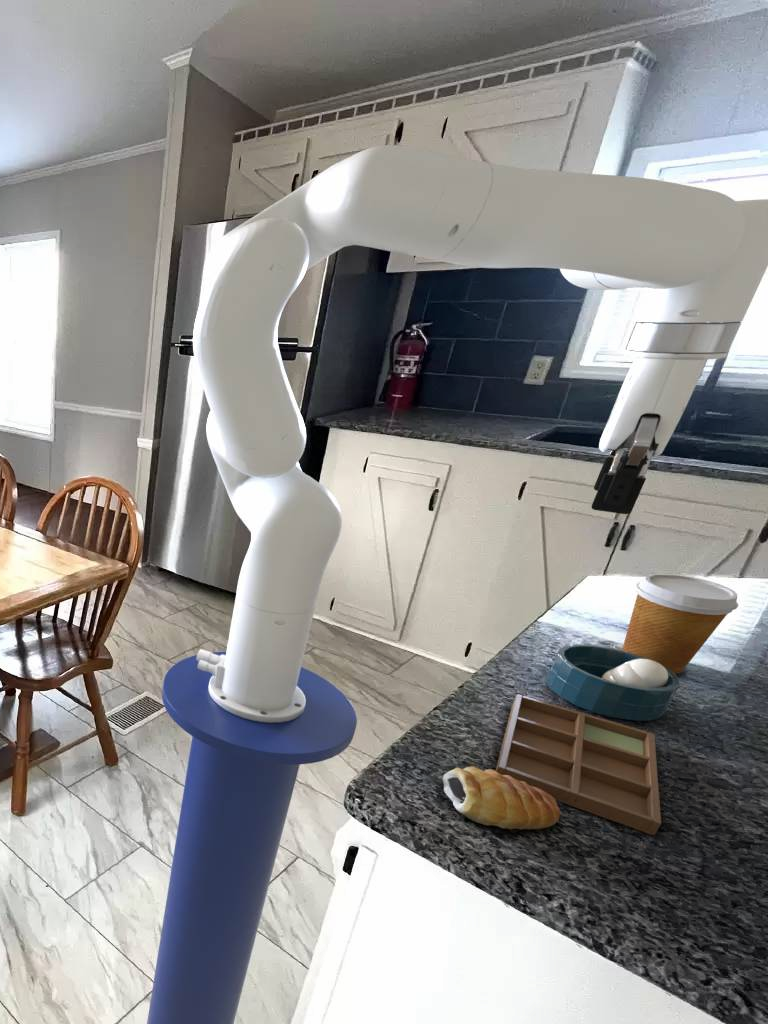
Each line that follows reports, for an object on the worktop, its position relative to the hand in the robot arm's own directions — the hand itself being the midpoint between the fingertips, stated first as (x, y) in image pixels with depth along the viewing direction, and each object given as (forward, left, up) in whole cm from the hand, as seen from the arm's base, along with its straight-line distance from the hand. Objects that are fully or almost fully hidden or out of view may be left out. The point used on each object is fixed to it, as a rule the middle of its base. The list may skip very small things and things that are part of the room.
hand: (610, 501), depth 73 cm
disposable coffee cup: (+12, +20, -26) cm, 35 cm away
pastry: (-1, -29, -26) cm, 39 cm away
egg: (+7, +4, -25) cm, 27 cm away
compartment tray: (+5, -14, -26) cm, 30 cm away
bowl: (+7, +4, -26) cm, 28 cm away
